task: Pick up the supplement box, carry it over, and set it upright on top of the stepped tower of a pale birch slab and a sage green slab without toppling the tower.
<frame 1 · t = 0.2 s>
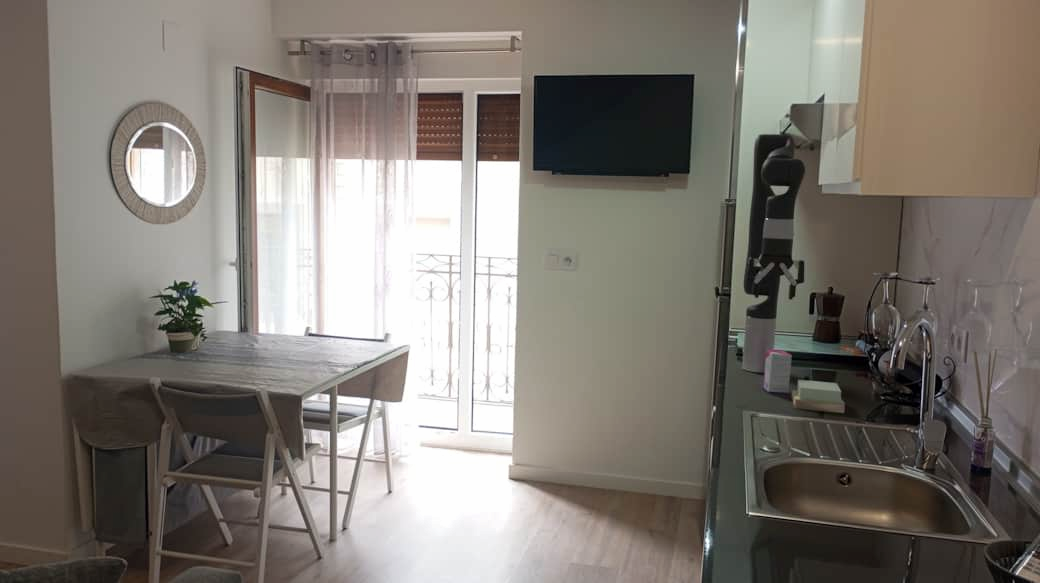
hand: (773, 298, 204), 28 cm above the worktop, fingers open, 8 cm apart
birch slab: (816, 407, 209), on the worktop, touching sage slab
supplement box: (775, 392, 222), on the worktop
sage slab: (817, 396, 208), point 2 cm above the worktop, touching birch slab
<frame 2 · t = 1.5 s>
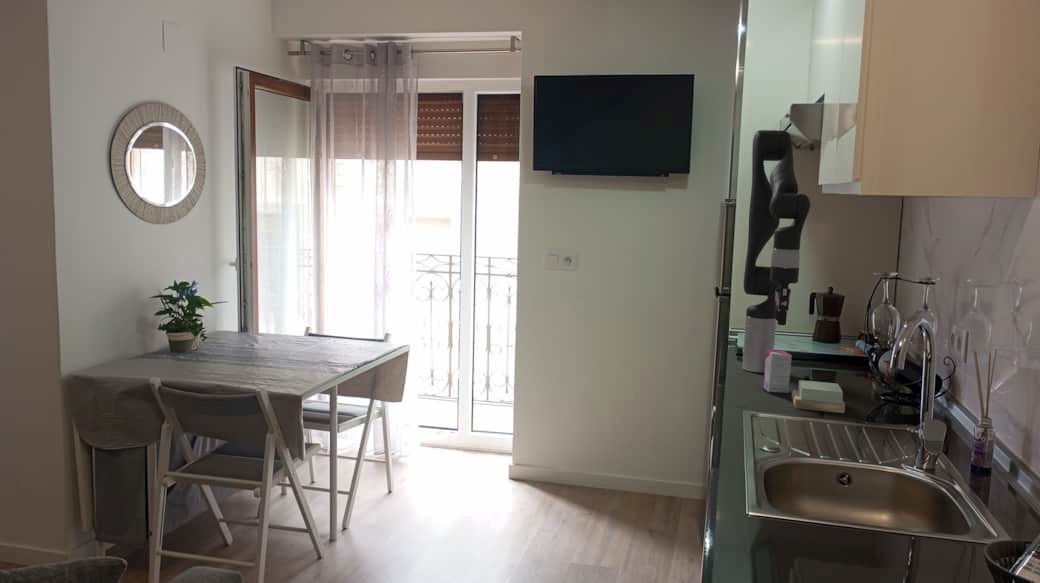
hand: (780, 322, 219), 20 cm above the worktop, fingers open, 8 cm apart
nothing on the worktop moved.
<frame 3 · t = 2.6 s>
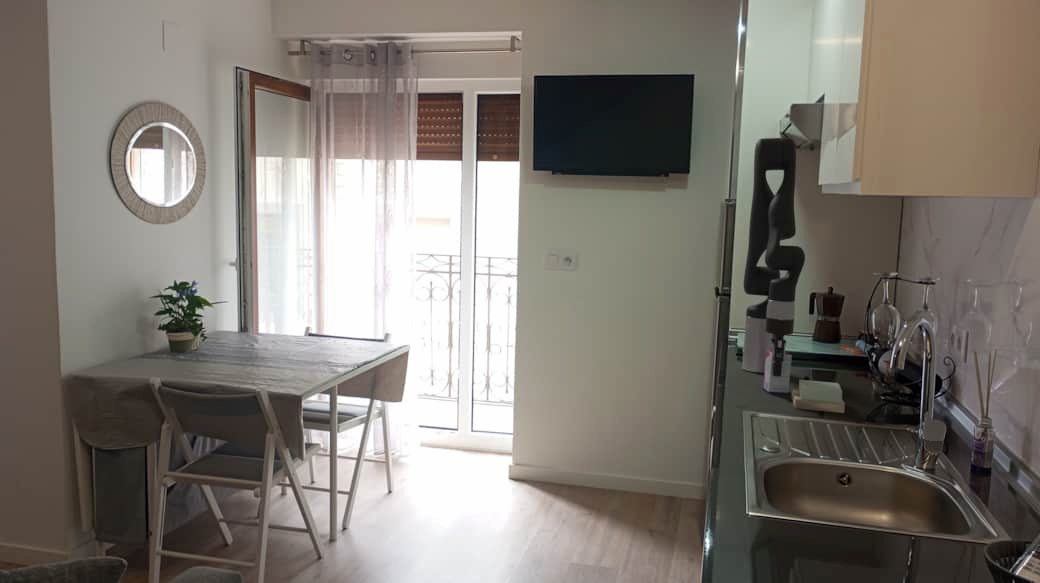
hand: (775, 373, 221), 5 cm above the worktop, fingers open, 8 cm apart
nothing on the worktop moved.
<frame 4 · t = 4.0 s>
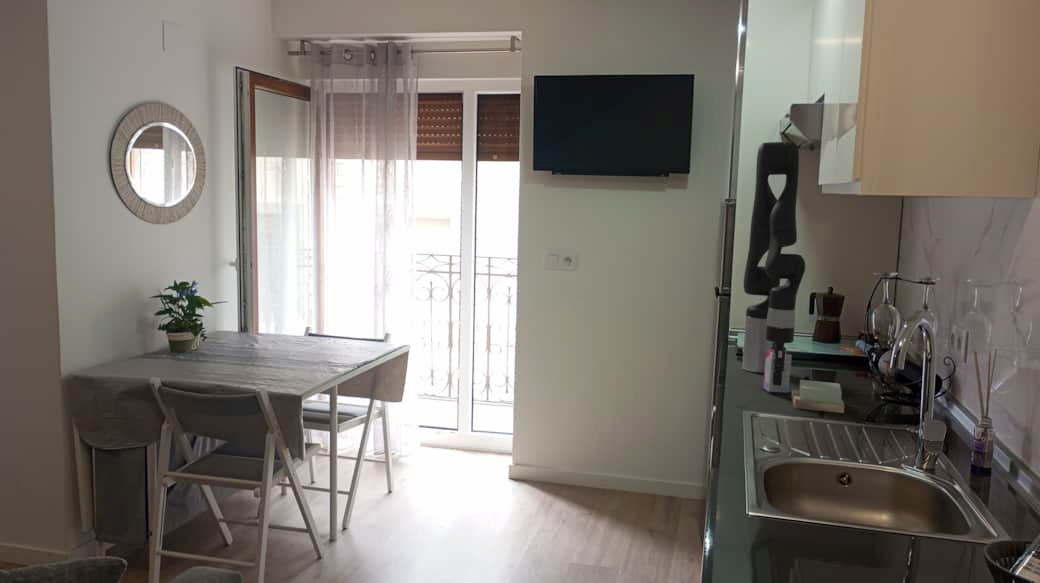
hand: (776, 382, 221), 3 cm above the worktop, fingers closed on supplement box, 6 cm apart
supplement box: (775, 392, 222), on the worktop, touching gripper
everything else where it was.
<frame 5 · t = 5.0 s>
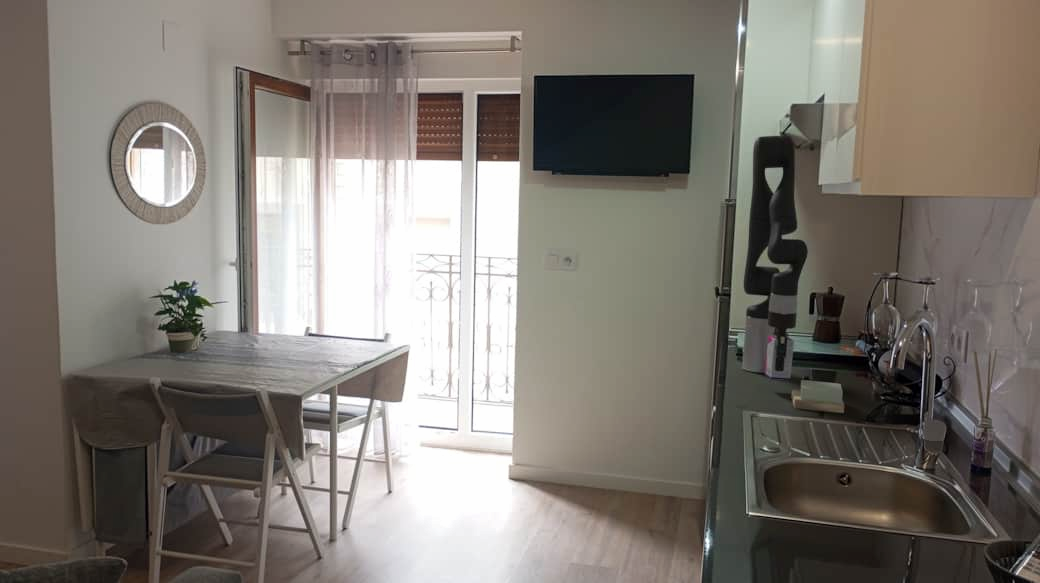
hand: (778, 367, 221), 7 cm above the worktop, fingers closed on supplement box, 6 cm apart
birch slab: (816, 407, 209), on the worktop
supplement box: (777, 377, 222), point 4 cm above the worktop, touching gripper
sage slab: (820, 396, 208), point 2 cm above the worktop
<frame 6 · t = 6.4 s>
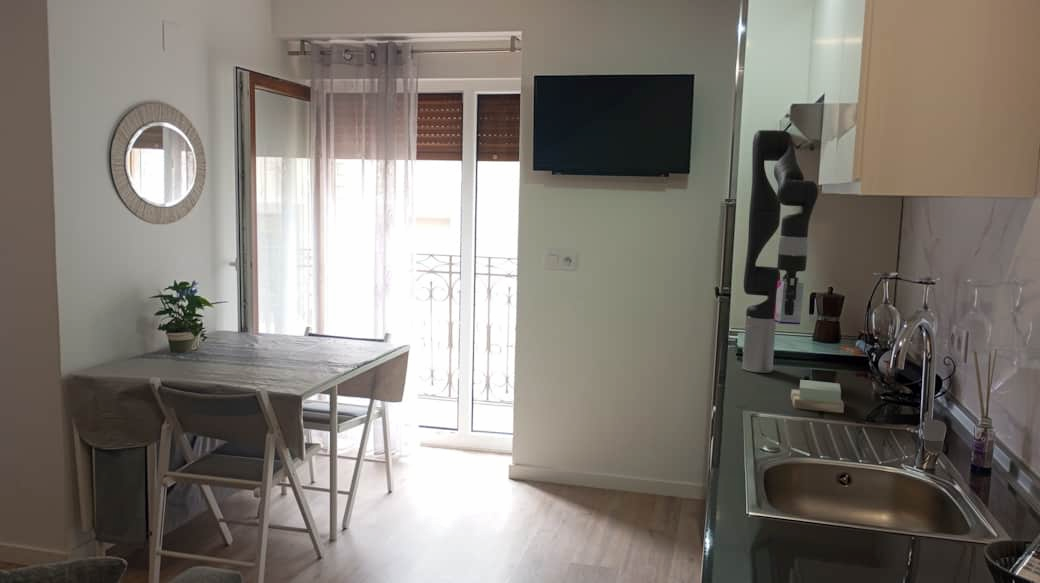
hand: (787, 313, 216), 23 cm above the worktop, fingers closed on supplement box, 6 cm apart
birch slab: (816, 407, 209), on the worktop, touching sage slab
supplement box: (786, 323, 217), point 20 cm above the worktop, touching gripper
sage slab: (819, 396, 208), point 2 cm above the worktop, touching birch slab
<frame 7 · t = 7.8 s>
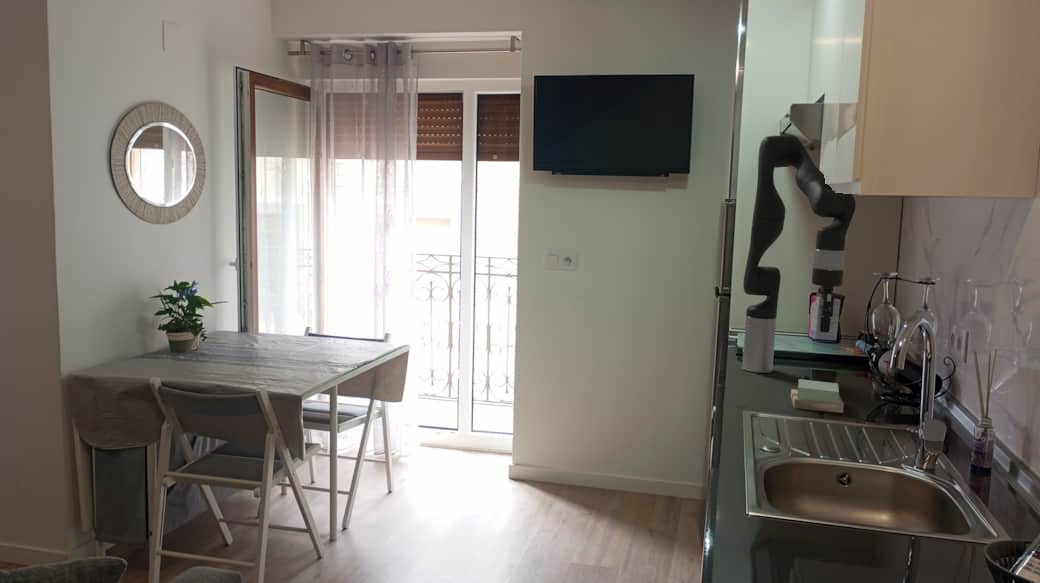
hand: (823, 329, 206), 20 cm above the worktop, fingers closed on supplement box, 6 cm apart
supplement box: (821, 340, 206), point 17 cm above the worktop, touching gripper
everything else where it was.
when the fingers open (11 cm above the worktop, at t = 10.4 s): supplement box drops 2 cm, point 5 cm above the worktop.
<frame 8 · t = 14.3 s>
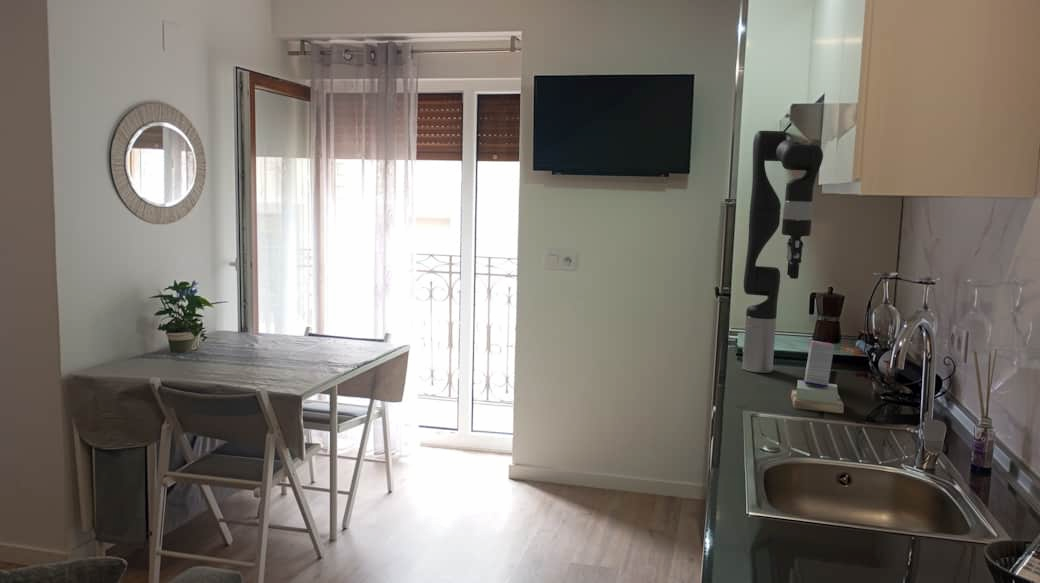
hand: (792, 277, 215), 33 cm above the worktop, fingers open, 8 cm apart
supplement box: (815, 385, 208), point 5 cm above the worktop
everything else where it was.
at the end: supplement box inside the target area on the birch slab (0.6 cm from its centre), point 6.0 cm above the birch slab's base; supplement box tilted 4°; sage slab 0.2 cm off-centre on the birch slab, point 3.0 cm above the birch slab's base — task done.
